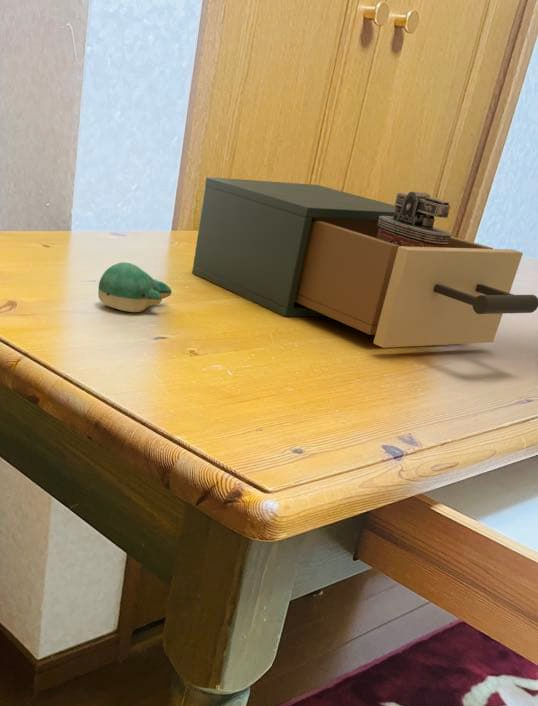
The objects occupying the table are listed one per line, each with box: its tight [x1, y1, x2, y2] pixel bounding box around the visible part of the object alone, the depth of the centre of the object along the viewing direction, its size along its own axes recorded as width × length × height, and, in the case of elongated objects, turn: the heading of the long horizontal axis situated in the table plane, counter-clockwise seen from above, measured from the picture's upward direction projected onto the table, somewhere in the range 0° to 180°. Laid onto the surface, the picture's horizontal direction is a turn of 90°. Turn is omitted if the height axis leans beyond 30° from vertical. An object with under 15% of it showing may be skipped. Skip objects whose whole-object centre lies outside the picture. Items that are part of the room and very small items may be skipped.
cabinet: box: [191, 176, 395, 318], centre depth 85 cm, size 17×15×10 cm
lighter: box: [376, 191, 452, 248], centre depth 74 cm, size 8×3×10 cm, turn 22°
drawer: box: [295, 217, 538, 349], centre depth 74 cm, size 21×13×8 cm, turn 28°
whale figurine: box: [97, 262, 172, 313], centre depth 74 cm, size 6×7×4 cm
